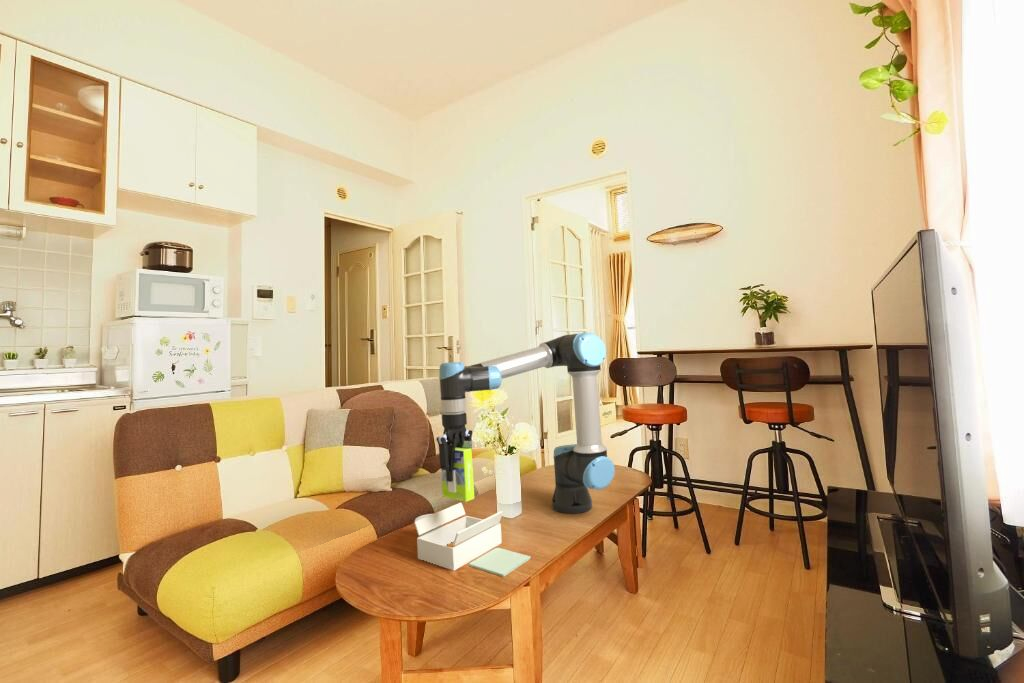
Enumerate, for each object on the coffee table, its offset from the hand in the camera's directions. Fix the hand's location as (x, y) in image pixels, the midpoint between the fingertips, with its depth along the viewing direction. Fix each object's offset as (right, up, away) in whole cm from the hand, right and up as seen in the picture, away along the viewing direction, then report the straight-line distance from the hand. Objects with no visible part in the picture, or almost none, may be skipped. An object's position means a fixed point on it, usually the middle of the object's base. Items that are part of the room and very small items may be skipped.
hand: (458, 489), depth 141 cm
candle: (-11, -20, +11) cm, 25 cm away
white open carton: (+1, -18, 0) cm, 18 cm away
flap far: (-5, -12, +4) cm, 14 cm away
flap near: (+6, -12, -5) cm, 14 cm away
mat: (+13, -18, -10) cm, 24 cm away
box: (0, -3, 0) cm, 3 cm away
